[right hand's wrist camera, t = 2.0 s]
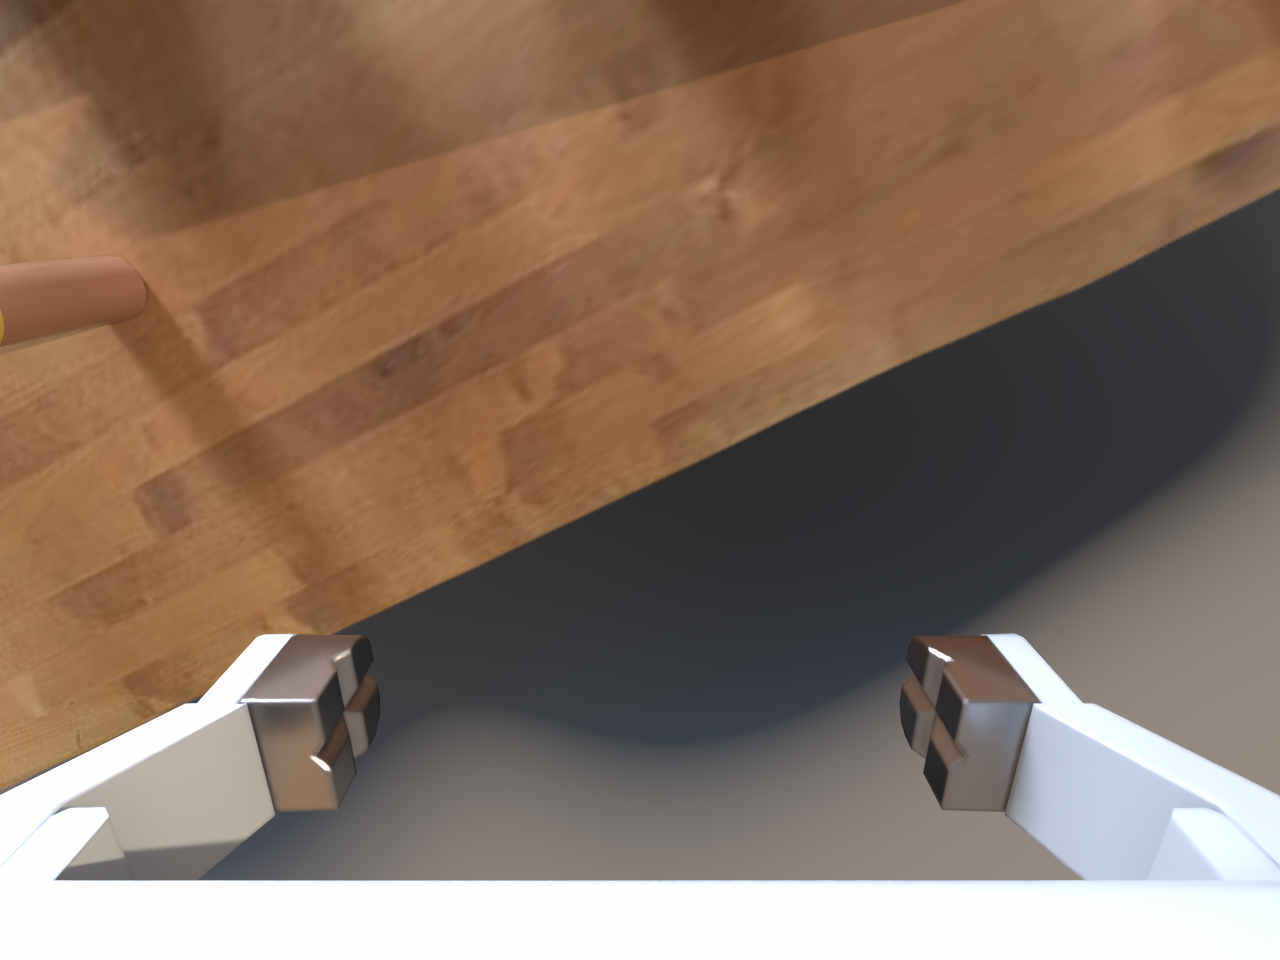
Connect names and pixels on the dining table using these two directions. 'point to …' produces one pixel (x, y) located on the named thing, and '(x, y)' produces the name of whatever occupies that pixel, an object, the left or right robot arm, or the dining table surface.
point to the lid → (1, 326)
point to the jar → (67, 296)
